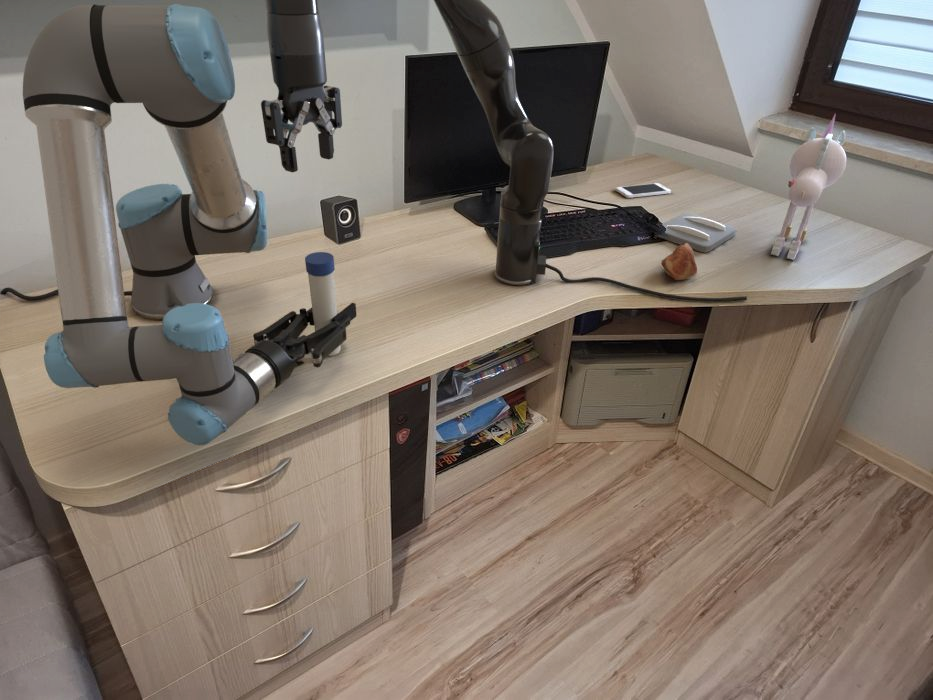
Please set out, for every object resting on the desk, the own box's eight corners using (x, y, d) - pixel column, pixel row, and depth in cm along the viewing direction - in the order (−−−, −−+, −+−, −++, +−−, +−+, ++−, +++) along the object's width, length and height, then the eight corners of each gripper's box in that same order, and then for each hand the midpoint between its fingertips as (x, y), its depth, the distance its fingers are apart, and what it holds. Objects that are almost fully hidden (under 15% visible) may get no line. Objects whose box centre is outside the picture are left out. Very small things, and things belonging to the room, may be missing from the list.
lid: (324, 278, 106) (323, 266, 105) (300, 272, 108) (299, 260, 106) (340, 267, 110) (339, 255, 108) (316, 261, 111) (315, 249, 110)
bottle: (332, 358, 115) (323, 267, 105) (312, 352, 117) (301, 262, 107) (345, 346, 119) (337, 257, 109) (325, 341, 120) (316, 253, 110)
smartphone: (614, 190, 195) (615, 187, 194) (657, 185, 199) (658, 182, 199) (627, 198, 189) (628, 195, 189) (671, 193, 194) (671, 190, 193)
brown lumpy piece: (670, 275, 139) (676, 230, 139) (641, 277, 146) (647, 234, 147) (708, 285, 146) (713, 242, 146) (678, 286, 153) (683, 245, 153)
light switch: (708, 241, 156) (653, 223, 165) (705, 253, 158) (650, 234, 167) (740, 223, 167) (687, 206, 176) (737, 234, 169) (684, 217, 178)
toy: (826, 222, 178) (867, 110, 161) (806, 269, 152) (852, 142, 135) (779, 212, 183) (814, 103, 167) (751, 256, 157) (789, 132, 141)
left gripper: (220, 375, 105) (306, 312, 123) (306, 405, 100) (384, 335, 117) (211, 337, 101) (302, 277, 119) (301, 366, 95) (382, 299, 113)
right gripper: (312, 39, 96) (323, 149, 105) (238, 51, 86) (256, 171, 95) (351, 45, 93) (358, 158, 102) (278, 58, 83) (293, 181, 92)
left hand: (342, 306), depth 118 cm, fingers closed on bottle, 4 cm apart
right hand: (309, 164), depth 99 cm, fingers open, 7 cm apart
